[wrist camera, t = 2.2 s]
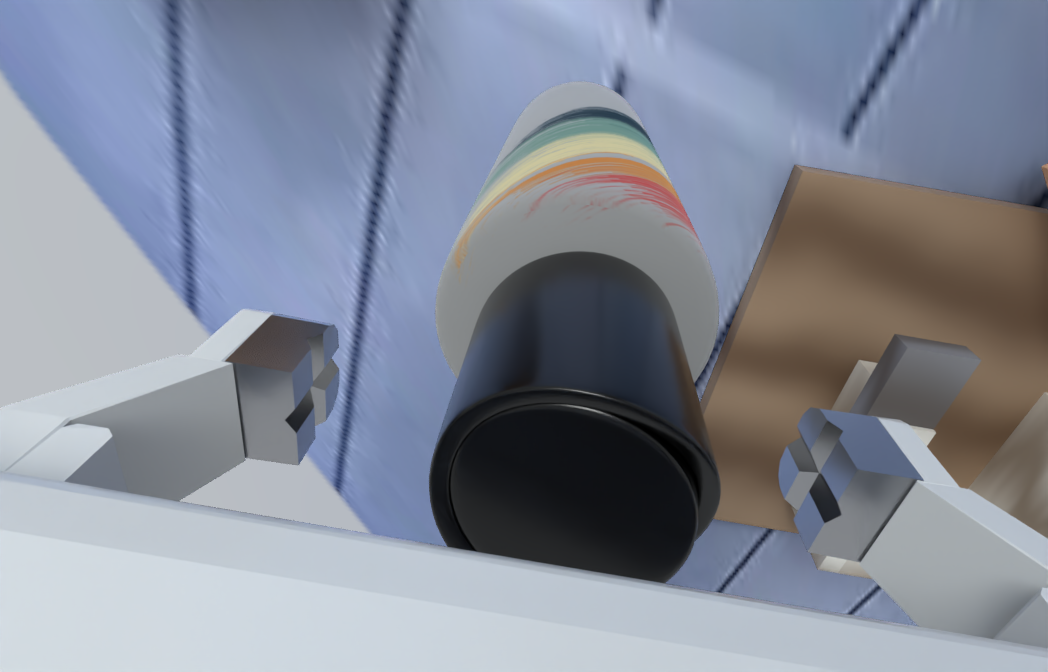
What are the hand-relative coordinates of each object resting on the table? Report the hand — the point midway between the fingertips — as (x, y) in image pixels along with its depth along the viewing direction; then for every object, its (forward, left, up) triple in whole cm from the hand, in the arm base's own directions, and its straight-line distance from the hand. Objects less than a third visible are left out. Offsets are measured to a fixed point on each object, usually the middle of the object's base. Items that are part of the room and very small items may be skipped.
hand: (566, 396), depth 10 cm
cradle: (+9, +20, -17) cm, 28 cm away
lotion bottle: (0, 0, -17) cm, 17 cm away
